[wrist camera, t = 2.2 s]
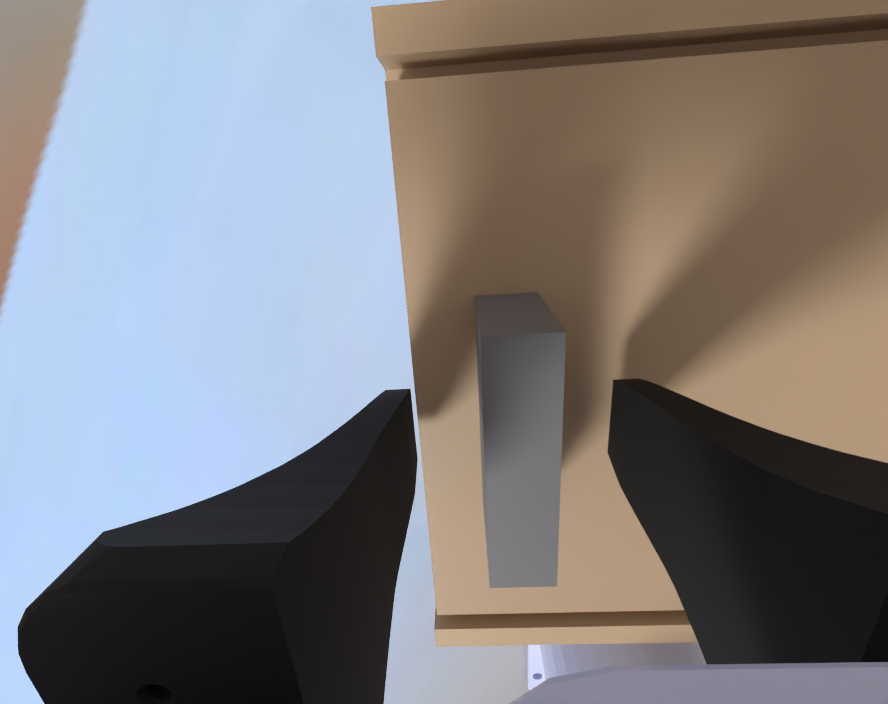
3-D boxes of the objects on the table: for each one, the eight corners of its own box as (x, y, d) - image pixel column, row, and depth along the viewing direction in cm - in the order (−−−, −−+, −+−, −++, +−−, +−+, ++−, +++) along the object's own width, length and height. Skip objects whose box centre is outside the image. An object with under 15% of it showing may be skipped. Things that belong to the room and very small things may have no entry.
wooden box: (791, 495, 20) (942, 638, 14) (442, 506, 21) (436, 646, 15) (910, 40, 14) (1285, -75, 8) (408, 81, 15) (370, 7, 8)
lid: (923, 585, 14) (1071, 713, 11) (437, 596, 15) (431, 718, 12) (1165, 25, 9) (1610, -73, 5) (389, 87, 10) (353, 36, 6)
